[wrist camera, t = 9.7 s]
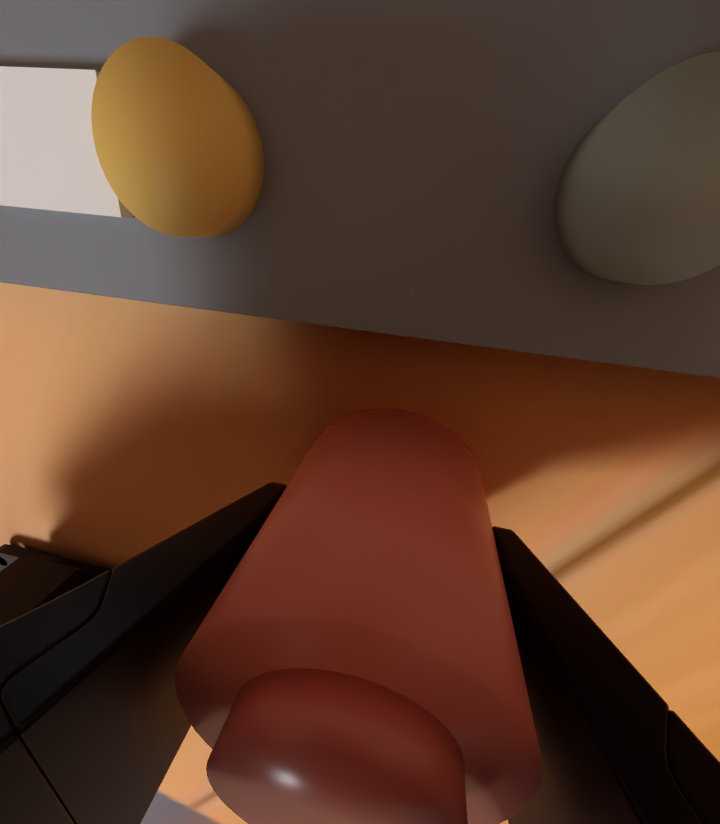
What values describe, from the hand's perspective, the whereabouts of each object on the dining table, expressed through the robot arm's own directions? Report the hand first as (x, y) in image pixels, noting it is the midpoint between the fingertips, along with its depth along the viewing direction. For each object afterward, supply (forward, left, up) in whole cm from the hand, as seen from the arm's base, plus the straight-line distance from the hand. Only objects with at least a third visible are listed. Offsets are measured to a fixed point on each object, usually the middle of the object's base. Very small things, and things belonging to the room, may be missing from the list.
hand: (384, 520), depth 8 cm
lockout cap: (0, 0, -1) cm, 1 cm away
